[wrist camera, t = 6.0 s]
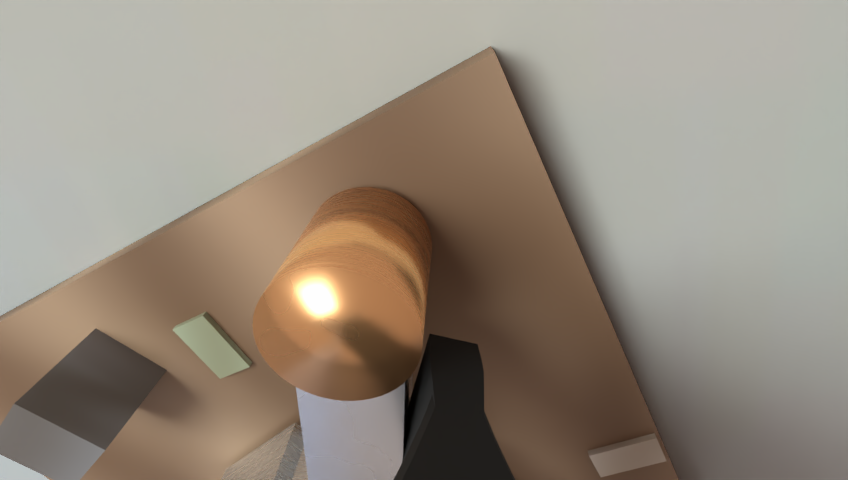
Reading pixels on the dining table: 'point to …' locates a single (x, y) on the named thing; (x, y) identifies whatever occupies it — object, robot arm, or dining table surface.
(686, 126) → the dining table surface
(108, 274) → the board
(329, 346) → the collar
